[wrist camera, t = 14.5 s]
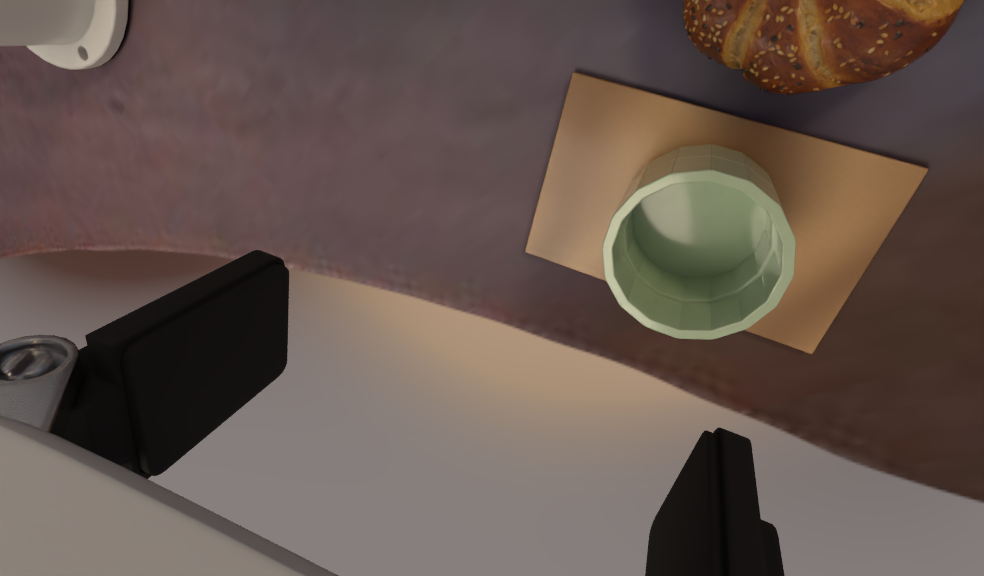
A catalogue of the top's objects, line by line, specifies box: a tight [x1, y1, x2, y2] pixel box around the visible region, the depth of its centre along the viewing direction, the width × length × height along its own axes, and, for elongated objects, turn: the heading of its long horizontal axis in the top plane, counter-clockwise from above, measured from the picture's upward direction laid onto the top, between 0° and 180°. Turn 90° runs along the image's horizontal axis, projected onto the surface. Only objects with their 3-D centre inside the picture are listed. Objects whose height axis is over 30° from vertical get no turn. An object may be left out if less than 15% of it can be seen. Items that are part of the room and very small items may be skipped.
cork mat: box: [525, 72, 929, 354], centre depth 27 cm, size 16×10×1 cm, turn 78°
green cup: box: [602, 144, 796, 339], centre depth 24 cm, size 7×7×6 cm
